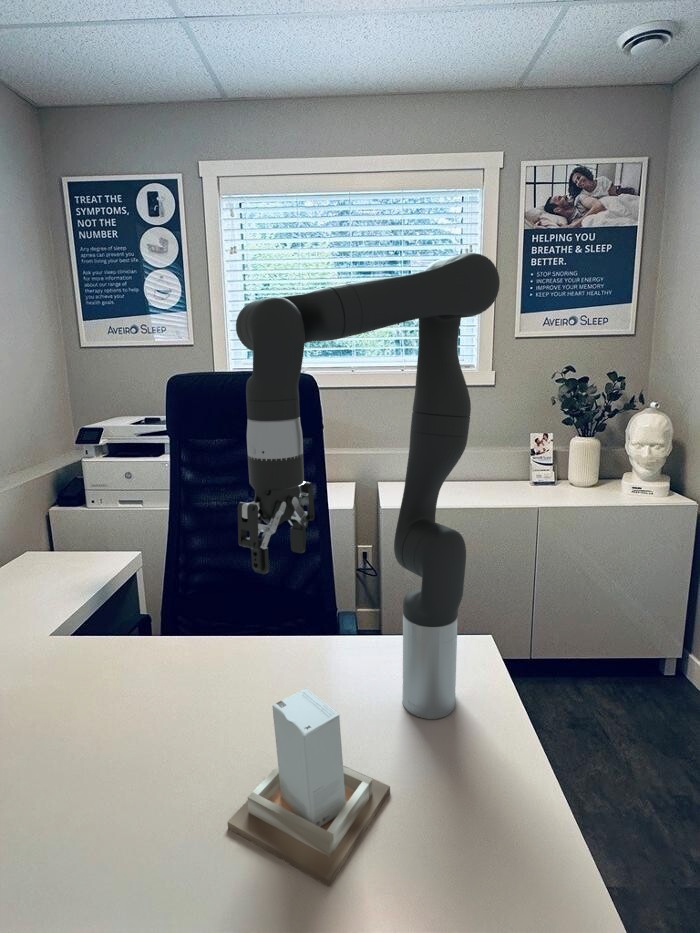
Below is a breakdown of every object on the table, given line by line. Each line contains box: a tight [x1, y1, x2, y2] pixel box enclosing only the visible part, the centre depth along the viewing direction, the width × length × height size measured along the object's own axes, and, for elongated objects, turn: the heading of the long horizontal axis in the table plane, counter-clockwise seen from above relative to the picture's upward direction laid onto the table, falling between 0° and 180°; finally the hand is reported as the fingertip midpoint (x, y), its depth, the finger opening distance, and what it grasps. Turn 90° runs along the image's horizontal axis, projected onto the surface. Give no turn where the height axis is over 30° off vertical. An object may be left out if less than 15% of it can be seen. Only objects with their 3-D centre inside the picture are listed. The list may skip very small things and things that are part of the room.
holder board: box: [227, 765, 391, 887], centre depth 75 cm, size 16×16×4 cm
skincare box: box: [271, 687, 346, 827], centre depth 74 cm, size 8×6×15 cm
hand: (280, 561), depth 79 cm, fingers open, 8 cm apart
